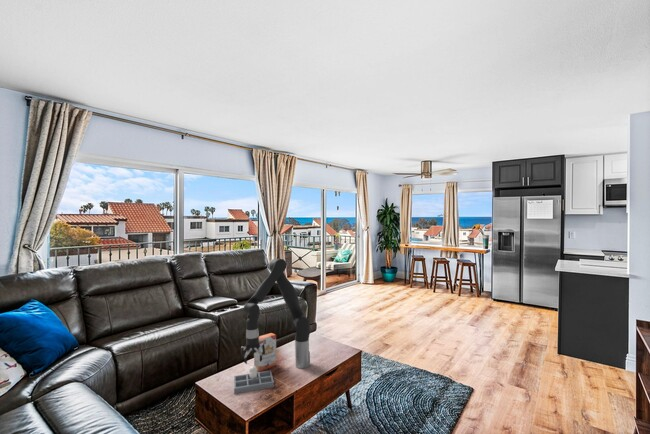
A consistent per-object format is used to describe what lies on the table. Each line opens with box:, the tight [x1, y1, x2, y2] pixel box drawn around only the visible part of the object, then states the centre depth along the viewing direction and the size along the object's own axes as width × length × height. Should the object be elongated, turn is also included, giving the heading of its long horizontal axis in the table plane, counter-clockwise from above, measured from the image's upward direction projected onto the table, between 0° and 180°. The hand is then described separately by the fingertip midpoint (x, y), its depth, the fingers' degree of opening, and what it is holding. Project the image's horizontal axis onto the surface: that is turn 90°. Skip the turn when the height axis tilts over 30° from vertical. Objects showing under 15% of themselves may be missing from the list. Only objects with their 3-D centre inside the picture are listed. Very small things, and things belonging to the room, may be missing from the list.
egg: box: [248, 365, 258, 379], centre depth 194 cm, size 5×5×8 cm
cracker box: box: [253, 332, 277, 373], centre depth 212 cm, size 14×6×21 cm, turn 134°
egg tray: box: [233, 370, 275, 394], centre depth 191 cm, size 22×15×3 cm
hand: (253, 362), depth 194 cm, fingers open, 8 cm apart
